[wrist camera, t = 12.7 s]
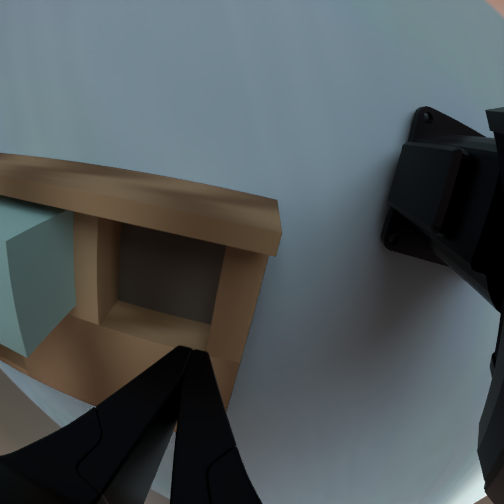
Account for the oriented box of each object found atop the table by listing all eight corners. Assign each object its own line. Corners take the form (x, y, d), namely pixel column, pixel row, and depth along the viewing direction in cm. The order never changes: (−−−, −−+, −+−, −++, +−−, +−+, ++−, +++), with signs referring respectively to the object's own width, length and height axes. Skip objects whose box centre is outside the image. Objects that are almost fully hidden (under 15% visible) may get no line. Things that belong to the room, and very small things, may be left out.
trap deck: (277, 200, 13) (282, 233, 8) (222, 409, 17) (213, 469, 13) (-24, 151, 12) (-78, 164, 8) (-5, 328, 17) (-39, 360, 12)
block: (73, 206, 10) (5, 241, 7) (76, 304, 12) (27, 357, 8) (2, 192, 10) (-61, 217, 7) (9, 279, 12) (-41, 318, 8)
